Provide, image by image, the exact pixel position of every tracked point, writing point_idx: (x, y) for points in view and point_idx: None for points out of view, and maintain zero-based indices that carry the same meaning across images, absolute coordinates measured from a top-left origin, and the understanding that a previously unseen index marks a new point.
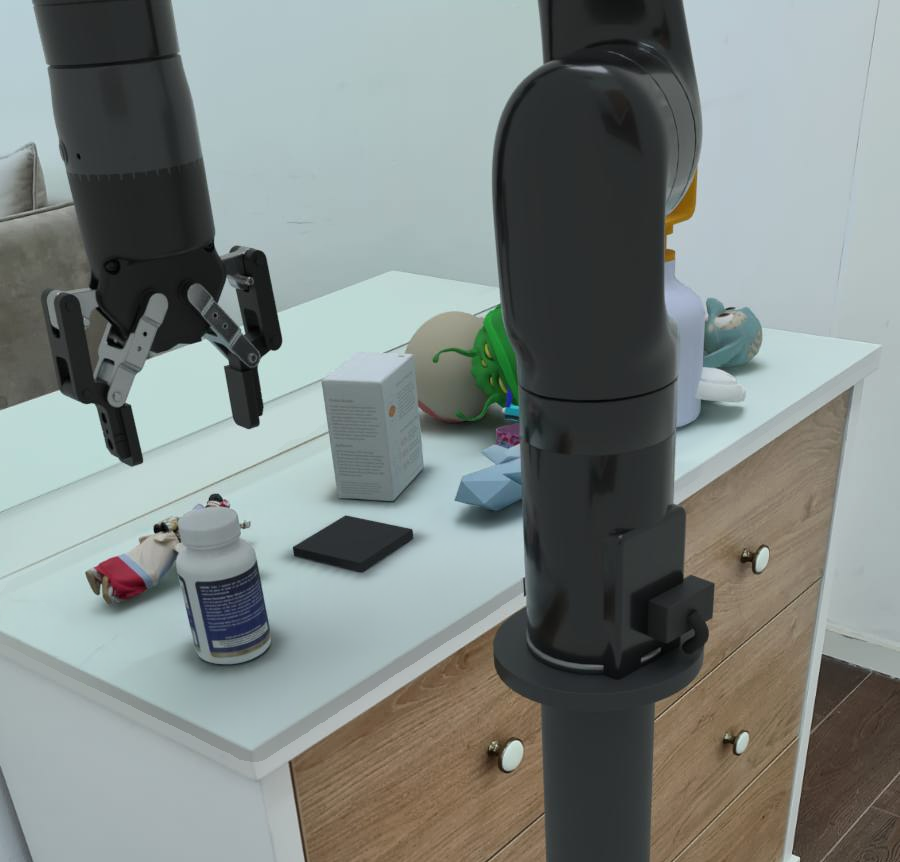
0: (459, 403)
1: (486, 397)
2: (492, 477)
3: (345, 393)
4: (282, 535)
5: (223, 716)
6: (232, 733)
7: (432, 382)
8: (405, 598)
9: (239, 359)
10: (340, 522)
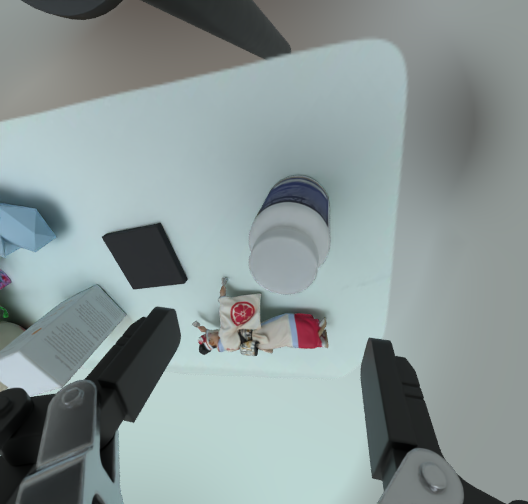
0: (5, 331)
1: None
2: (10, 220)
3: (54, 365)
4: (179, 306)
5: (382, 111)
6: (401, 73)
7: None
8: (152, 160)
9: (98, 410)
10: (140, 284)
